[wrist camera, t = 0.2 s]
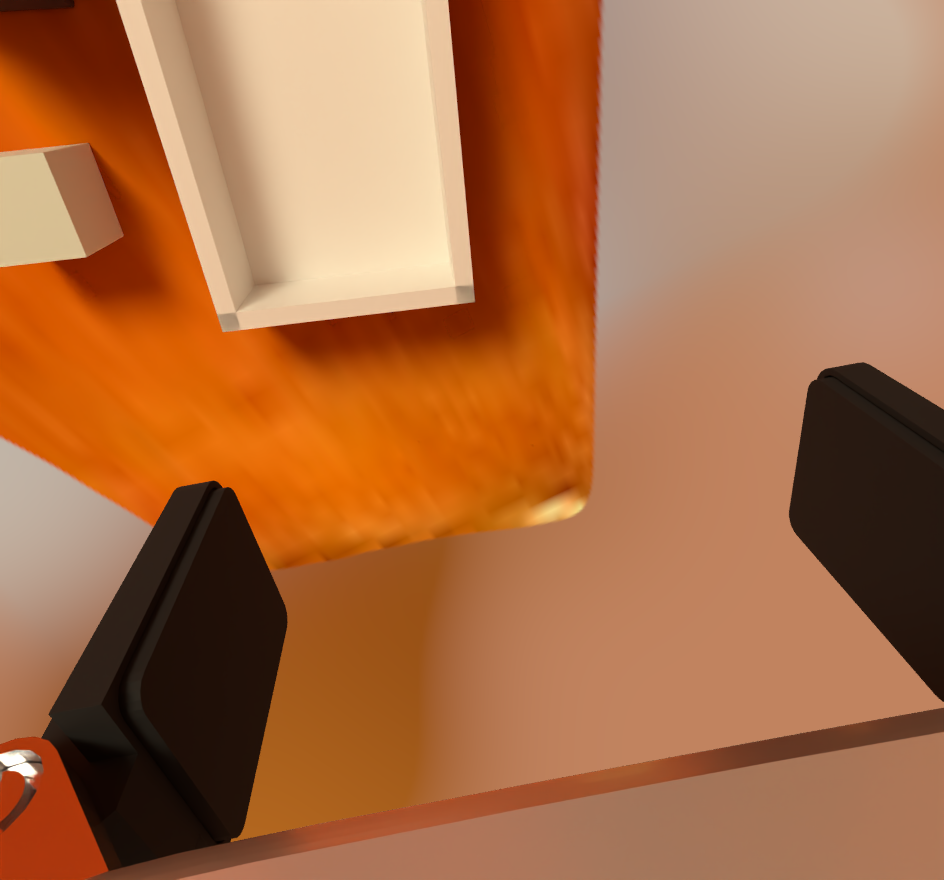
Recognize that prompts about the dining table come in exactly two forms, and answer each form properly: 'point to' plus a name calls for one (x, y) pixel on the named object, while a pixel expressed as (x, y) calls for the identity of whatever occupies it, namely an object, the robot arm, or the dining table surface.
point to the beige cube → (53, 205)
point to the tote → (311, 152)
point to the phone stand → (34, 4)
